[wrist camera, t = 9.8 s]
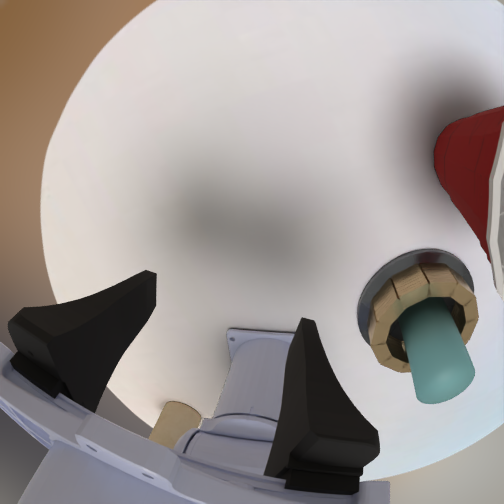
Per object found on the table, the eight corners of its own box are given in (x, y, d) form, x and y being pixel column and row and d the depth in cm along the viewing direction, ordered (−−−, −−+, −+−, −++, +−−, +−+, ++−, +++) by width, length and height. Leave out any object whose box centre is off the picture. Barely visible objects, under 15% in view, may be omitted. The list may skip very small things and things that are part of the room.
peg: (437, 329, 22) (460, 399, 15) (393, 332, 23) (408, 406, 16) (449, 289, 20) (484, 358, 13) (402, 291, 21) (427, 366, 14)
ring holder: (450, 349, 23) (459, 373, 20) (349, 352, 25) (350, 380, 22) (485, 251, 18) (503, 271, 15) (365, 246, 21) (373, 269, 18)
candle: (207, 415, 36) (185, 475, 27) (191, 425, 38) (170, 478, 29) (173, 396, 35) (144, 455, 26) (160, 407, 38) (134, 460, 29)
